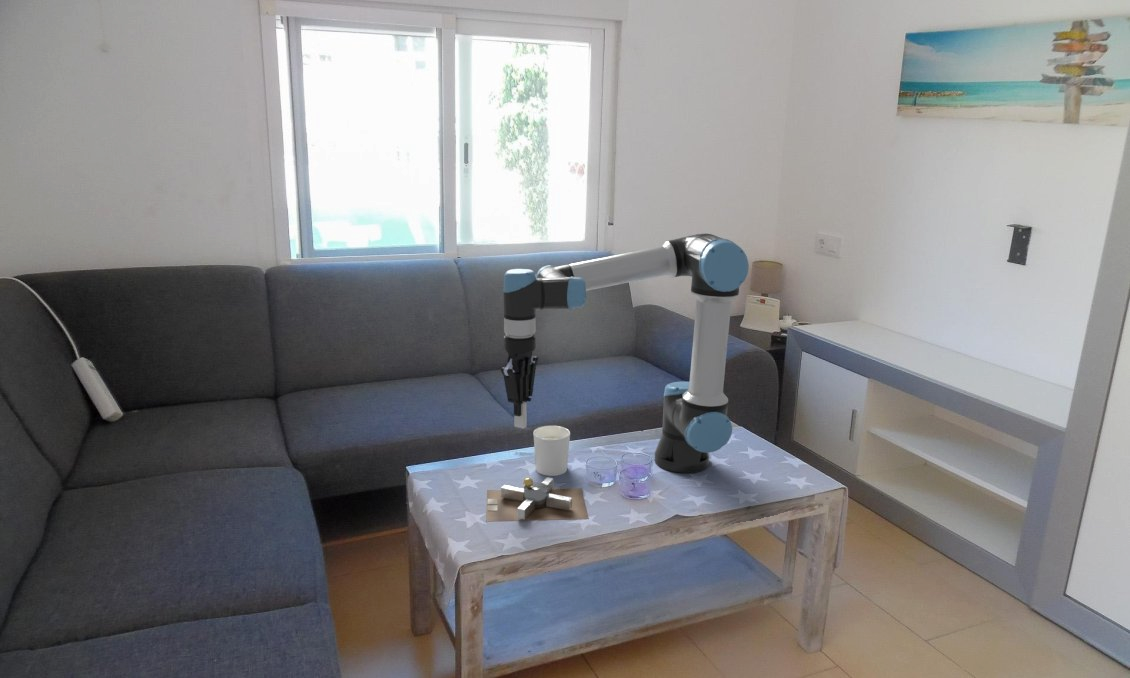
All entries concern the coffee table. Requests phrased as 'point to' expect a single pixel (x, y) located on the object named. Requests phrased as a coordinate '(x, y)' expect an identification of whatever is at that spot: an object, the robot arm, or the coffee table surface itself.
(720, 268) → the robot arm
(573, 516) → the level base
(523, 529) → the coffee table surface
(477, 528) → the coffee table surface
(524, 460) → the coffee table surface
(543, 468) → the candle holder
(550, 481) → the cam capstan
